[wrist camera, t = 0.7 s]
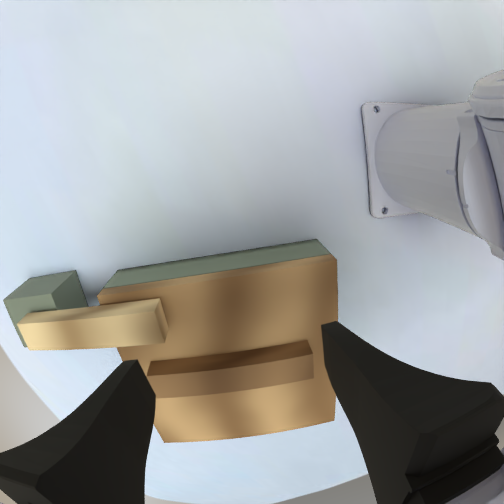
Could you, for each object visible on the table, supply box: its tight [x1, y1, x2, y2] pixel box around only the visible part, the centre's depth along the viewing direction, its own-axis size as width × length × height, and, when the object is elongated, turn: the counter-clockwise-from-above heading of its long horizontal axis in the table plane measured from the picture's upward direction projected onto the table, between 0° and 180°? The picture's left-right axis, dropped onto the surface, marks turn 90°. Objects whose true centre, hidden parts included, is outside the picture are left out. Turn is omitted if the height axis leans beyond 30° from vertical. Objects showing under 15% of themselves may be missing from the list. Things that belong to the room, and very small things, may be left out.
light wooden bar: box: [17, 298, 169, 350], centre depth 16 cm, size 10×2×2 cm, turn 98°
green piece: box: [103, 239, 331, 289], centre depth 21 cm, size 14×14×3 cm
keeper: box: [3, 270, 88, 347], centre depth 19 cm, size 5×4×4 cm
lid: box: [97, 254, 338, 443], centre depth 19 cm, size 14×14×2 cm
